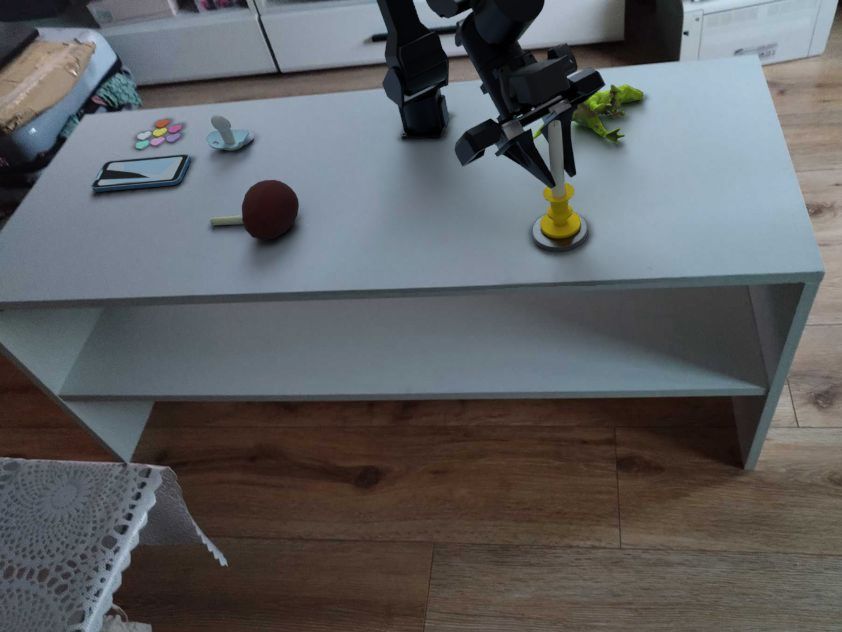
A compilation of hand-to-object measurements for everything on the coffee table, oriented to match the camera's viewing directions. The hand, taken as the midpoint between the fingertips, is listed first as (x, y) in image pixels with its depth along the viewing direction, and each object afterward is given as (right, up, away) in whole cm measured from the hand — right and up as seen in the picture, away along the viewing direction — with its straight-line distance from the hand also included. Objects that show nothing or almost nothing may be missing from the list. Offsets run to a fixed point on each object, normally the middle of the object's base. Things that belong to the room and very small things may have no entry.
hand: (563, 181), depth 83 cm
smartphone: (-64, +8, +31) cm, 72 cm away
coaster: (+1, -5, +8) cm, 9 cm away
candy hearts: (-65, +18, +39) cm, 78 cm away
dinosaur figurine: (+7, +14, +22) cm, 27 cm away
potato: (-41, -1, +17) cm, 44 cm away
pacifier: (-50, +14, +33) cm, 61 cm away
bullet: (-49, -1, +20) cm, 53 cm away
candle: (+1, -4, +8) cm, 9 cm away
